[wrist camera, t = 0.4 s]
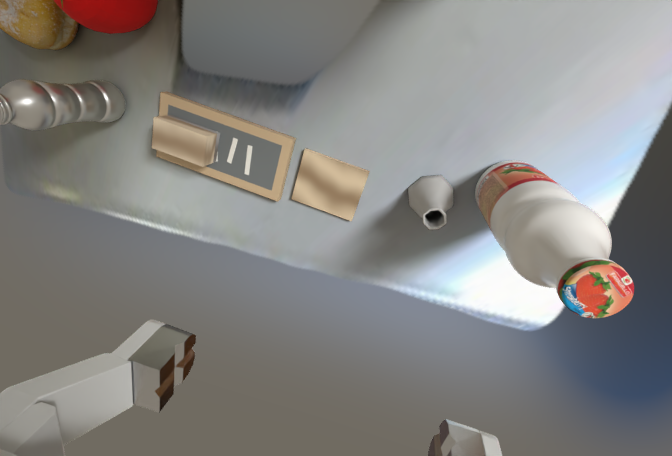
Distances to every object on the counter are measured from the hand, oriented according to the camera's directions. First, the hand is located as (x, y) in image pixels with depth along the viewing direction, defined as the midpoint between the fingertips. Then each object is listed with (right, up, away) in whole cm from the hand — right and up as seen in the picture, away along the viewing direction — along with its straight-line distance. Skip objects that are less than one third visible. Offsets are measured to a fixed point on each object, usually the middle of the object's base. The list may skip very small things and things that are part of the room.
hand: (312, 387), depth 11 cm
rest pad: (0, +12, +46) cm, 48 cm away
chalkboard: (-18, +19, +47) cm, 54 cm away
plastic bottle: (-37, +27, +48) cm, 67 cm away
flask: (+16, +10, +44) cm, 48 cm away
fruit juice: (+27, +11, +41) cm, 50 cm away
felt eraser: (-23, +20, +46) cm, 55 cm away
